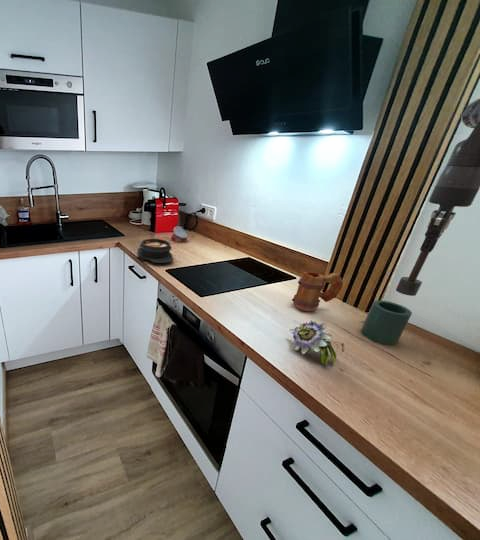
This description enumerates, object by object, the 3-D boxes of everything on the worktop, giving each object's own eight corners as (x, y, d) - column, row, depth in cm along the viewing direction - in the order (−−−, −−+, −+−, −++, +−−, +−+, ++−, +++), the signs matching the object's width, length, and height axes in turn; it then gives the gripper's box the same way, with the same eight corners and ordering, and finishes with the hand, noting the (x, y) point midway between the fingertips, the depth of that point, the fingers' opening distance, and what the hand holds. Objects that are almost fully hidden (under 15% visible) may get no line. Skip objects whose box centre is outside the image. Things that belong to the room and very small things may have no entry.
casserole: (130, 251, 161) (130, 237, 158) (159, 248, 167) (160, 234, 164) (148, 268, 140) (150, 252, 137) (181, 264, 146) (183, 248, 143)
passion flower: (292, 364, 87) (279, 326, 89) (324, 356, 88) (311, 317, 90) (320, 370, 76) (304, 326, 78) (356, 360, 77) (340, 317, 79)
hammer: (407, 289, 85) (436, 231, 78) (420, 296, 81) (451, 235, 74) (391, 288, 86) (418, 230, 78) (403, 295, 82) (432, 234, 74)
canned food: (182, 245, 189) (190, 232, 186) (183, 248, 180) (192, 235, 177) (167, 236, 189) (175, 223, 186) (168, 239, 179) (176, 225, 176)
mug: (293, 312, 105) (305, 275, 99) (286, 301, 113) (296, 266, 107) (337, 317, 103) (351, 279, 97) (326, 305, 110) (339, 270, 104)
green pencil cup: (383, 329, 96) (396, 301, 92) (404, 346, 88) (420, 316, 84) (354, 327, 97) (366, 299, 93) (372, 343, 89) (386, 313, 85)
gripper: (478, 188, 65) (441, 259, 72) (482, 185, 73) (448, 249, 79) (431, 185, 70) (402, 251, 77) (440, 182, 78) (412, 242, 85)
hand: (426, 250), depth 78 cm, fingers closed on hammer, 2 cm apart
